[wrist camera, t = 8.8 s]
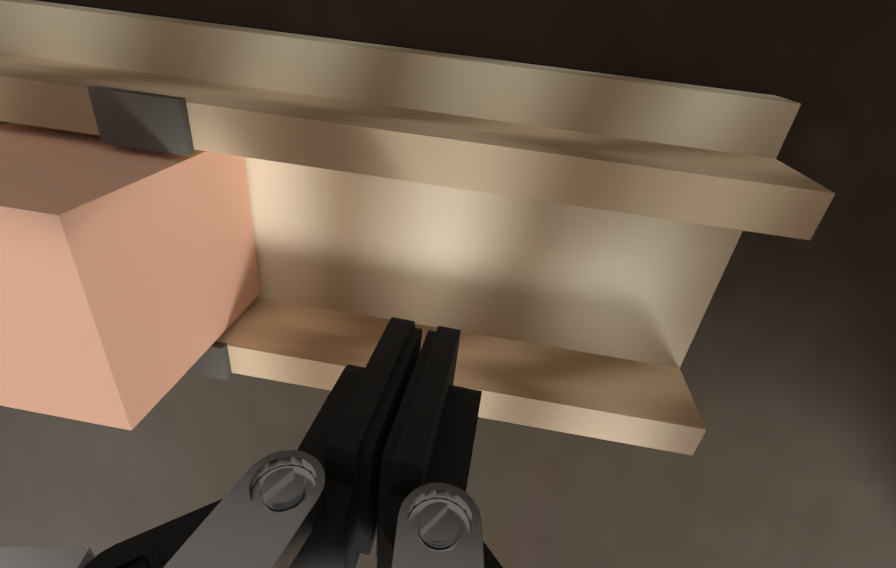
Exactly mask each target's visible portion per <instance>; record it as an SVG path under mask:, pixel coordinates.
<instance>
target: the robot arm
mask: <svg viewBox="0 0 896 568" xmlns="http://www.w3.org/2000/svg"><path fill="white" fill-rule="evenodd" d="M460 334H461V330H459V329H454V328H448V327H443V326H438V328H437V330H436V331H431V330H428V332H427V335H426V337H425V340H424V343H423V345H422V348H421V340H422V329H421V328H416V327H415V322H414V321H411V320H406V319H401V318H395V317H392V318H391V319H390V321H389V322H388V324H387V326H386V328H385V330H384V332H383V334H382V336H381V338H380V340H379V342H378V344H377V346H376V348H375V350H374V351H373V353H372V355H371V357H370V359H369V361H368V363H367V365H366V367H360V366H355V365H350V364H349V365H347V366H346V367H345V368H344V370H343V371H342V373H341V375H340V377H339V378H338V380H337V382H336V384H335V385H334V387H333V389H332V391H331V392H330V394H329V396H328V397H327V399H326V401H325V403H324V404H323V406H322V408H321V410H320V411H319V413H318V415H317V417H316V418H315V420H314V422H313V423H312V425H311V427H310V429H309V430H308V432H307V434H306V436H305V437H304V439H303V441H302V443H301V444H300V446H299V448H298V450H284V451H279V452H276V453H272V454H269V455H268V456H266V457H264V458H262V459H260V460H258V461H257V462H256V463H255V464H254V465H253V466H252V467H251V468H249V469H248V471H247V472H246V473H245V474H244V475H243V476H242V477H241V479H240V480H239V481H238V482H237V483H236V484H235V486H234V487H233V488H232V489H231V490H230V491H229V492H228V494H227V495H226V496H225V497H224V498H223V499H221V500H219V501H216V502H214V503H212V504H209V505H207V506H205V507H202V508H200V509H198V510H195V511H193V512H191V513H188V514H186V515H184V516H181V517H179V518H176V519H174V520H172V521H169V522H167V523H165V524H162V525H160V526H158V527H155V528H153V529H151V530H148V531H146V532H144V533H141V534H139V535H137V536H134V537H132V538H130V539H127V540H125V541H122V542H120V543H118V544H116V545H114V546H112V547H110V548H108V549H106V550H105V551H103V552H101V553H92V551H91V549H90V547H20V548H0V568H355V567H356V564H357V561H358V558H359V555H360V553H363V554H367V555H369V553H370V551H371V548H372V545H373V542H374V539H375V536H376V533H377V546H376V557H377V568H503V567H502V566H501V564H500V563H499V562H498V560H497V559H496V558H495V556H494V555H493V554H492V552H491V551H490V550H489V548H488V547H487V546H486V544H485V543H484V542H483V530H482V519H481V514H480V510H479V508H478V507H477V505H476V503H475V501H474V500H473V499H472V498H471V497H470V496H469V495H468V494H467V493H466V486H467V480H468V474H469V468H470V462H471V456H472V450H473V444H474V438H475V431H476V425H477V419H478V413H479V407H480V401H481V395H482V391H480V390H475V389H470V388H465V387H460V386H455V385H453V383H454V376H455V369H456V362H457V355H458V348H459V341H460ZM420 350H421V351H420Z"/></svg>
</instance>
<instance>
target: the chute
mask: <svg viewBox="0 0 896 568" xmlns="http://www.w3.org/2000/svg"><path fill="white" fill-rule="evenodd" d="M800 105H801V104H800V103H797V102H794V101H791V100H788V99H785V98H782V97H779V96H776V95H768V94H760V93H753V92H745V91H737V90H729V89H721V88H714V87H706V86H698V85H690V84H682V83H675V82H667V81H659V80H651V79H643V78H636V77H628V76H620V75H612V74H605V73H597V72H589V71H581V70H573V69H566V68H558V67H550V66H542V65H534V64H527V63H519V62H511V61H503V60H496V59H488V58H480V57H472V56H464V55H457V54H449V53H441V52H433V51H425V50H418V49H410V48H402V47H394V46H386V45H379V44H371V43H363V42H355V41H348V40H340V39H332V38H324V37H316V36H309V35H301V34H293V33H285V32H277V31H270V30H262V29H254V28H246V27H239V26H231V25H223V24H215V23H207V22H200V21H192V20H184V19H176V18H168V17H161V16H153V15H145V14H137V13H130V12H122V11H114V10H106V9H98V8H91V7H83V6H75V5H67V4H59V3H52V2H44V1H36V0H0V121H4V122H11V123H18V124H24V125H31V126H38V127H45V128H52V129H58V130H65V131H72V132H79V133H85V134H92V135H99V136H100V138H101V142H102V144H109V145H116V146H123V147H129V148H136V149H143V150H149V151H156V152H163V153H170V154H176V155H183V156H189V155H192V154H194V153H195V152H194V150H201V151H207V152H214V153H221V154H228V155H235V156H241V157H245V161H246V170H247V178H248V187H249V196H250V204H251V213H252V222H253V230H254V239H255V248H256V256H257V265H258V274H259V282H260V291H261V293H260V294H259V295H258V296H257V297H256V299H255V300H254V301H253V302H252V303H251V304H250V305H249V306H248V307H247V308H246V309H245V310H244V311H243V312H242V313H241V315H240V316H239V317H238V318H237V319H236V320H235V321H234V322H233V323H232V324H231V325H230V326H229V327H228V328H227V329H226V330H225V332H224V333H223V334H222V335H221V336H220V337H219V338H218V339H217V340H216V341H215V342H214V343H213V344H212V345H211V346H210V347H209V349H208V350H207V351H206V352H205V353H204V354H203V355H202V356H201V357H200V358H199V359H198V360H197V361H196V362H195V363H194V364H193V366H192V367H191V368H190V369H189V370H188V371H187V372H186V373H189V374H194V375H200V376H205V377H211V378H216V379H222V380H228V379H229V378H230V377H231V376H232V373H237V374H242V375H248V376H253V377H259V378H265V379H270V380H276V381H281V382H287V383H292V384H298V385H303V386H309V387H315V388H320V389H326V390H331V391H332V389H333V387H334V385H335V384H336V382H337V380H338V378H339V377H340V375H341V373H342V371H343V370H344V368H345V367H346V366H347V365H349V364H350V365H355V366H360V367H366V365H367V363H368V361H369V359H370V357H371V355H372V353H373V351H374V350H375V348H376V346H377V344H378V342H379V340H380V338H381V336H382V334H383V332H384V330H385V328H386V326H387V324H388V322H389V321H390V319H391V318H392V317H395V318H401V319H406V320H411V321H414V322H415V327H416V328H421V329H422V340H421V348H422V345H423V343H424V340H425V337H426V335H427V332H428V330H431V331H436V330H437V328H438V326H443V327H448V328H454V329H459V330H461V334H460V341H459V348H458V355H457V362H456V369H455V376H454V383H453V385H455V386H460V387H465V388H470V389H475V390H480V391H482V395H481V401H480V407H479V413H478V417H482V418H487V419H493V420H498V421H504V422H509V423H515V424H521V425H526V426H532V427H537V428H543V429H548V430H554V431H559V432H565V433H571V434H576V435H582V436H587V437H593V438H598V439H604V440H610V441H615V442H621V443H626V444H632V445H637V446H643V447H648V448H654V449H660V450H665V451H671V452H676V453H682V454H687V455H693V454H694V452H695V450H696V448H697V446H698V444H699V443H700V441H701V439H702V437H703V435H704V433H705V432H706V428H705V425H704V423H703V421H702V418H701V416H700V414H699V412H698V409H697V407H696V405H695V403H694V400H693V398H692V396H691V393H690V391H689V389H688V387H687V384H686V382H685V380H684V377H683V375H682V373H681V371H680V366H681V364H682V361H683V359H684V357H685V355H686V353H687V351H688V348H689V346H690V344H691V342H692V340H693V338H694V335H695V333H696V331H697V329H698V327H699V325H700V322H701V320H702V318H703V316H704V314H705V312H706V309H707V307H708V305H709V303H710V301H711V299H712V296H713V294H714V292H715V290H716V288H717V285H718V283H719V281H720V279H721V277H722V275H723V272H724V270H725V268H726V266H727V264H728V262H729V259H730V257H731V255H732V253H733V251H734V249H735V246H736V244H737V242H738V240H739V238H740V236H741V233H742V231H750V232H756V233H763V234H770V235H777V236H784V237H790V238H797V239H804V240H810V239H811V237H812V236H813V234H814V232H815V230H816V228H817V226H818V225H819V223H820V221H821V219H822V217H823V215H824V214H825V212H826V210H827V208H828V206H829V204H830V203H831V201H832V199H833V197H834V195H835V193H834V192H832V191H830V190H829V189H827V188H825V187H824V186H822V185H820V184H818V183H817V182H815V181H813V180H811V179H810V178H808V177H806V176H804V175H803V174H801V173H799V172H798V171H796V170H794V169H792V168H791V167H789V166H787V165H785V164H784V163H782V162H780V161H778V160H777V159H776V157H777V155H778V153H779V151H780V149H781V147H782V144H783V142H784V140H785V138H786V136H787V134H788V131H789V129H790V127H791V125H792V123H793V121H794V118H795V116H796V114H797V112H798V110H799V108H800ZM420 351H421V350H420Z"/></svg>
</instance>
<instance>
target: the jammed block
mask: <svg viewBox="0 0 896 568" xmlns="http://www.w3.org/2000/svg"><path fill="white" fill-rule="evenodd" d="M194 152H195V153H194V154H192V155H189V156H183V155H176V154H170V153H163V152H156V151H149V150H143V149H136V148H129V147H123V146H116V145H109V144H102V142H101V138H100V136H99V135H92V134H85V133H79V132H72V131H65V130H58V129H52V128H45V127H38V126H31V125H24V124H18V123H8V124H3V125H0V405H1V406H6V407H11V408H16V409H22V410H27V411H32V412H37V413H43V414H48V415H53V416H58V417H64V418H69V419H74V420H79V421H84V422H90V423H95V424H100V425H105V426H111V427H116V428H121V429H126V430H132V429H133V428H134V427H135V426H136V425H137V424H138V423H139V422H140V421H141V420H142V419H143V418H144V417H145V416H146V414H147V413H148V412H149V411H150V410H151V409H152V408H153V407H154V406H155V405H156V404H157V403H158V402H159V401H160V400H161V399H162V397H163V396H164V395H165V394H166V393H167V392H168V391H169V390H170V389H171V388H172V387H173V386H174V385H175V384H176V383H177V382H178V380H179V379H180V378H181V377H182V376H183V375H184V374H185V373H186V372H187V371H188V370H189V369H190V368H191V367H192V366H193V364H194V363H195V362H196V361H197V360H198V359H199V358H200V357H201V356H202V355H203V354H204V353H205V352H206V351H207V350H208V349H209V347H210V346H211V345H212V344H213V343H214V342H215V341H216V340H217V339H218V338H219V337H220V336H221V335H222V334H223V333H224V332H225V330H226V329H227V328H228V327H229V326H230V325H231V324H232V323H233V322H234V321H235V320H236V319H237V318H238V317H239V316H240V315H241V313H242V312H243V311H244V310H245V309H246V308H247V307H248V306H249V305H250V304H251V303H252V302H253V301H254V300H255V299H256V297H257V296H258V295H259V294H260V293H261V291H260V282H259V274H258V265H257V256H256V248H255V239H254V230H253V222H252V213H251V204H250V196H249V187H248V178H247V170H246V161H245V157H241V156H235V155H228V154H221V153H214V152H207V151H201V150H194Z"/></svg>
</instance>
